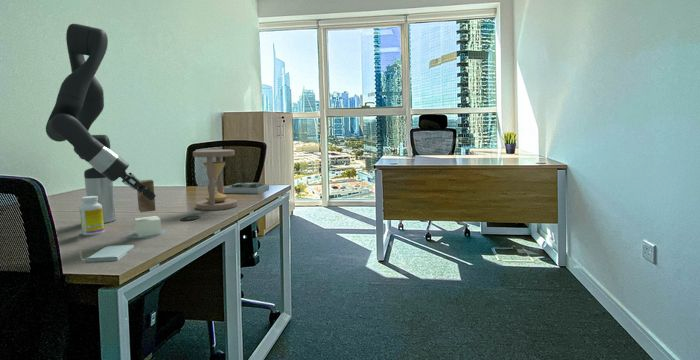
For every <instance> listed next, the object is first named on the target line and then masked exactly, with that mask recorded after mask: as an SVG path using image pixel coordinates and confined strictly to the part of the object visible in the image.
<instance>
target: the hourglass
mask: <svg viewBox="0 0 700 360" xmlns="http://www.w3.org/2000/svg"><path fill="white" fill-rule="evenodd" d="M232 156H235V150H234V149H227V148H226V149H221V148H220V149H200V150H194V151H192V157H194V158H206V162H203V165H204V167H205V169H206V176H207V178H208V185H207V192H208V195H207V196H205V198H206V199H204V200H199V201H197V202H196V203H195V206H196V209H197V210H201V211H220V210H221V211H222V210H227V209H233V208H235V207H237V206H238V200H237V199H234V198H227V197H228V195H227V194H225V193H224V182H223V178H222V175H223V170H224V167H225V165H226V161H222V158H223V157H232ZM213 158H215V161H214V159H213ZM215 181H216V186H215V183H214V182H215ZM216 188H217V189H216ZM216 190H217V191H216Z"/></svg>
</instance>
